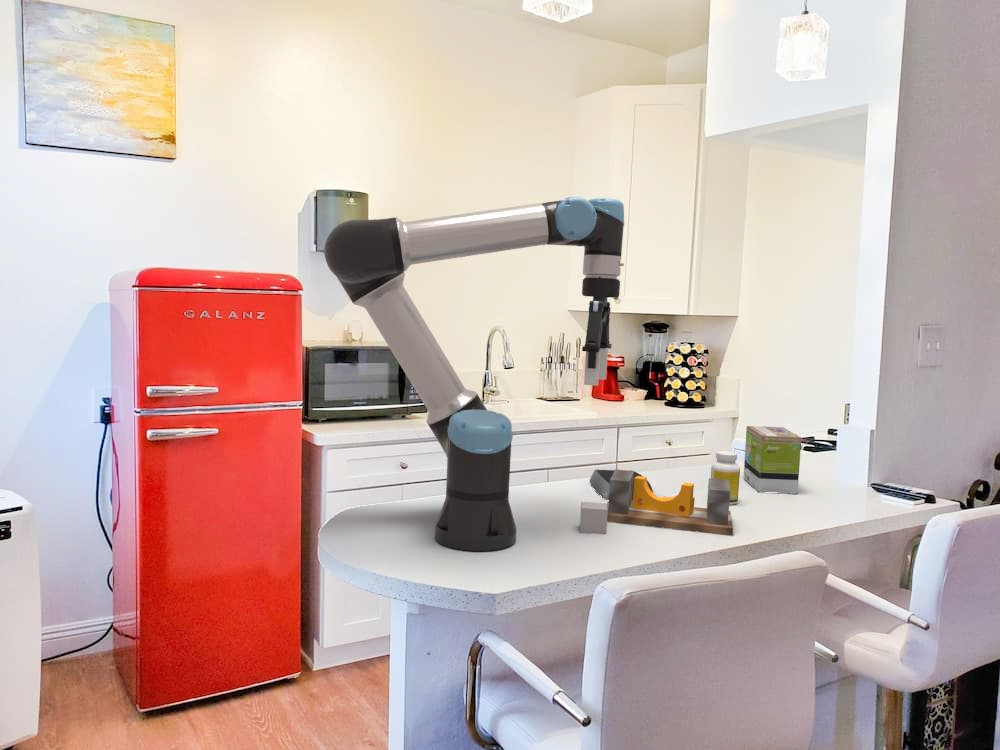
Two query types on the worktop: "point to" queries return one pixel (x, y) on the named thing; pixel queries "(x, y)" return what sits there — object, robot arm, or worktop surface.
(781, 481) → the tea box
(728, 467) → the pill bottle
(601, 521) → the block
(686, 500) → the pipe clamp
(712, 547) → the worktop surface
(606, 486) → the dark piece
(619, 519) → the rail board
